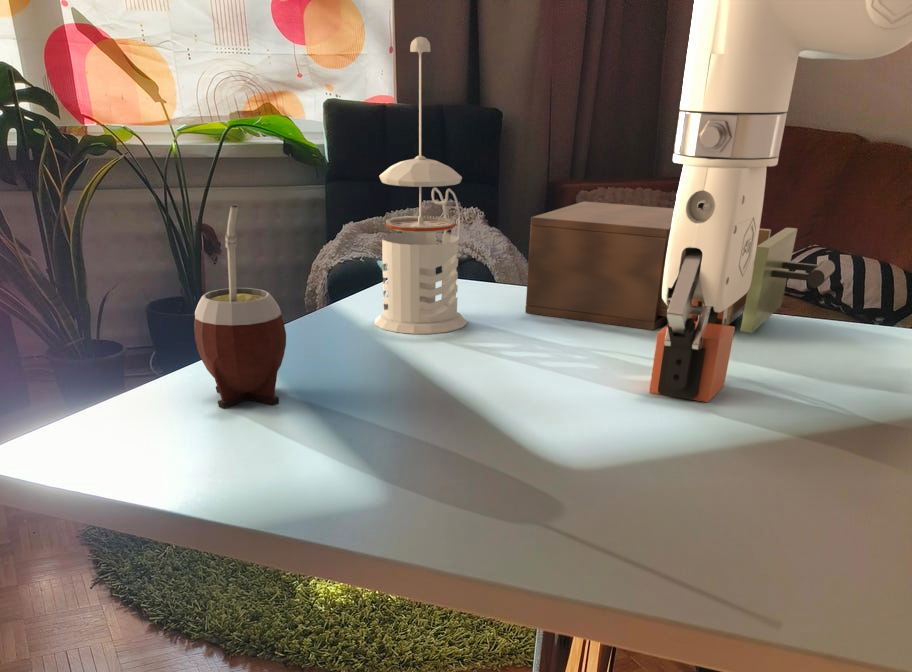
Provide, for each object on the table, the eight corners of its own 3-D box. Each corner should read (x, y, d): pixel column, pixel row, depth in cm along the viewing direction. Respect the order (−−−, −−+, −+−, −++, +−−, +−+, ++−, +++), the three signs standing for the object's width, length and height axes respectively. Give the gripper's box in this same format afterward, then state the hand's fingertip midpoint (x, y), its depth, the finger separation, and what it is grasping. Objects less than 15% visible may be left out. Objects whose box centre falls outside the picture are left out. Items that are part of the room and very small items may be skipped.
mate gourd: (243, 379, 77) (221, 185, 69) (316, 394, 74) (302, 193, 65) (181, 403, 72) (149, 196, 63) (256, 420, 68) (233, 204, 60)
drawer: (829, 311, 95) (848, 232, 91) (805, 339, 86) (825, 252, 81) (661, 291, 103) (671, 218, 99) (621, 315, 93) (631, 234, 89)
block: (724, 386, 76) (735, 326, 73) (708, 402, 73) (719, 340, 70) (667, 377, 78) (676, 318, 75) (648, 392, 75) (657, 331, 72)
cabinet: (693, 302, 102) (708, 211, 97) (653, 330, 92) (667, 229, 87) (575, 288, 109) (583, 201, 103) (525, 312, 98) (530, 217, 93)
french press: (355, 325, 93) (344, 35, 79) (413, 304, 101) (412, 38, 87) (437, 338, 88) (440, 34, 75) (490, 315, 97) (502, 38, 83)
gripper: (752, 151, 58) (703, 424, 67) (803, 136, 70) (755, 368, 80) (640, 146, 61) (609, 407, 71) (708, 132, 73) (674, 356, 83)
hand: (687, 384), depth 75 cm, fingers closed on block, 5 cm apart
